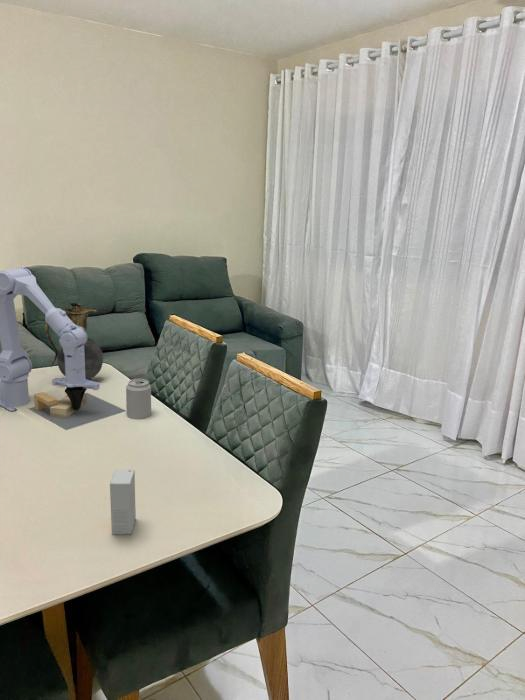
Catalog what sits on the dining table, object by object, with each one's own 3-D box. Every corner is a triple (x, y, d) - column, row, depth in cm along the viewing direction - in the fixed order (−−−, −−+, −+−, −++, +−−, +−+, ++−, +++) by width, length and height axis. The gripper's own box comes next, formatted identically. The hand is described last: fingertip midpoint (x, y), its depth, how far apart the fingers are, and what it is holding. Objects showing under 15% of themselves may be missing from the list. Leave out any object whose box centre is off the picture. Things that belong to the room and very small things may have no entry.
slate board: (28, 411, 169) (26, 393, 168) (87, 395, 185) (86, 378, 183) (66, 433, 156) (65, 413, 154) (126, 413, 172) (126, 396, 170)
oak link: (72, 400, 177) (71, 392, 176) (86, 402, 177) (86, 393, 176) (50, 416, 164) (49, 407, 163) (66, 418, 163) (65, 409, 162)
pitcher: (104, 387, 194) (101, 304, 185) (47, 389, 188) (42, 305, 180) (103, 377, 204) (101, 298, 195) (49, 379, 198) (44, 299, 190)
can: (154, 414, 173) (153, 378, 169) (147, 423, 166) (146, 386, 162) (131, 412, 173) (130, 376, 170) (123, 421, 166) (122, 384, 163)
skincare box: (115, 518, 117) (114, 468, 114) (136, 518, 117) (135, 468, 114) (110, 535, 111) (109, 483, 108) (131, 535, 112) (131, 483, 108)
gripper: (45, 368, 161) (48, 411, 165) (91, 373, 159) (92, 416, 163) (58, 362, 168) (60, 402, 171) (102, 366, 166) (103, 407, 169)
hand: (77, 408), depth 167 cm, fingers closed
